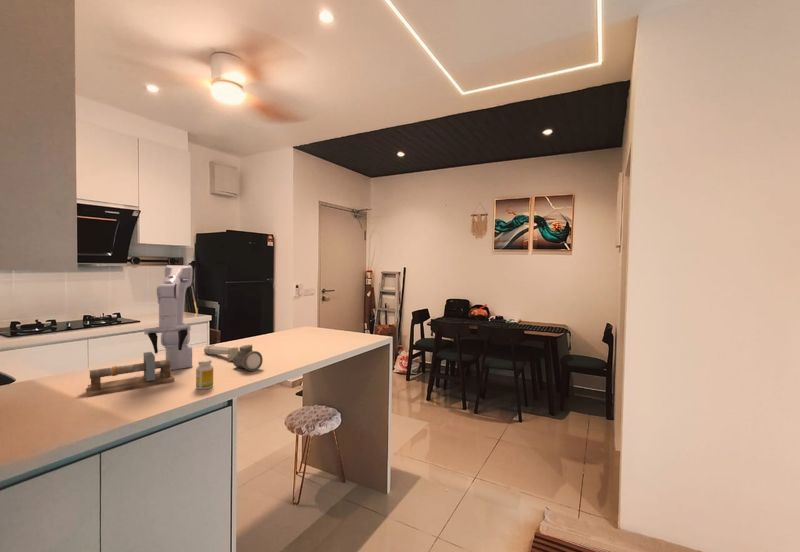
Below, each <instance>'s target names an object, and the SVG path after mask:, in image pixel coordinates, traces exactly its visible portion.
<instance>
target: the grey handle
mask: <svg viewBox="0 0 800 552" xmlns="http://www.w3.org/2000/svg"><path fill="white" fill-rule="evenodd" d="M238 351H240V349H239V347H238V346H234V347H227V346H218V345H214V344H213V345H212V344H211V345H207V346H205V347H204V349H203V352H204V354H207V355H210V356H212V355H226V356H227V358H228V362H233V358H234V356H235V355H236V354H237V352H238Z"/></svg>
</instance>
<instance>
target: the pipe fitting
mask: <svg viewBox="0 0 800 552" xmlns="http://www.w3.org/2000/svg"><path fill="white" fill-rule="evenodd" d="M238 349H239V351H238V352H237V354H236V355H235V356H234V358H233V360H232V363H233V366H234V367H236V368H241V369H242V368H243V369H245V370H246V371H248V372H257V371H258V370H259V369H260V368H261V367H262V364H263V356H262V354H261V353H260V352H259V351H257V350H256V351H255V350H253V344H246V345H242V346H239V347H238Z"/></svg>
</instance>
